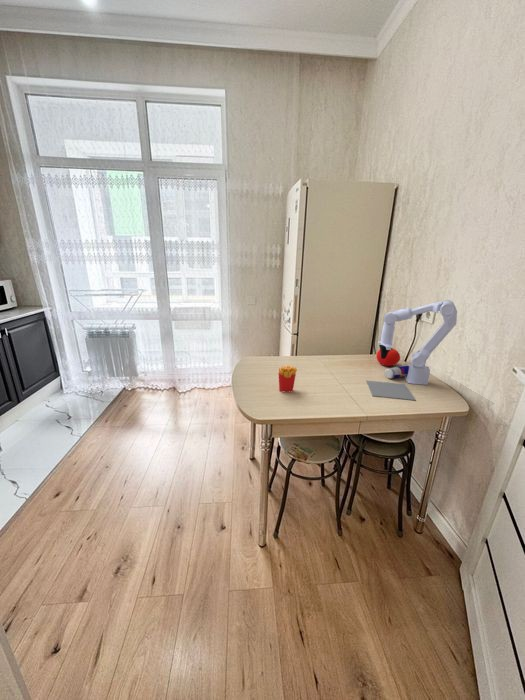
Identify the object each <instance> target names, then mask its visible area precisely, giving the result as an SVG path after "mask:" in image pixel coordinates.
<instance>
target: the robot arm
mask: <svg viewBox="0 0 525 700" xmlns="http://www.w3.org/2000/svg"><path fill="white" fill-rule="evenodd" d="M457 310H458V309H457V308H456V305H455V303H454V301H452V300H447V299H446V300H443V301H437V302H432V303H428V304H425V305H422V306H418V307H415V308H410V307H406V306H404V307H403V308H401V309H398V310H396V309H394V310H393V311H389V312H387V313H386V314H385V315H384V317H383V325H382V331H381V334H380V335H381V336H380V340H379V341H377V344H379V350H380V352H381V359H385V358H386V356H387V354H388V352H389V351H390V350H391V348H392V345H393V338H394V333H395V328H396V327H395V325H396V322H398V323H399V322H402V321H406V320H411V319H412V318H413V317H414V316H415V315H416V316H417V315H422V314H425V313H430V312H432V313H436V314H439V313H440V314H441V316H442V318H443V322H442V324H441V325H439V328H437V330H436V331H435V332H434V333H433V334H431V335H432V336H431V337H429V339H428V340H427V341H426V342H425V344H424V345H423V346H422V347H420V349H418V350H417V351H415V352H414V353H413V354H412V359H411V361H410V363H409V365H408V366H409V371H408V375H406V376H403V377H404V379H405V381H406V383H408V384H413V385H424V386H428V384H429V377H430V374H431V369H430V367H429V366H426V363H427V362H426V361H427V360H428V359H429V358H430V355H431V354H432V352H433V351H435V349H436V348H437V347H438V346H439V345H440V344H441V342H442V341H443V340H444V339H445V338H446V337H447V336H448V334H449V333H450V332H451V331H452V330H453V329H454V327H455V326H456V325H457V318H458V311H457Z"/></svg>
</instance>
